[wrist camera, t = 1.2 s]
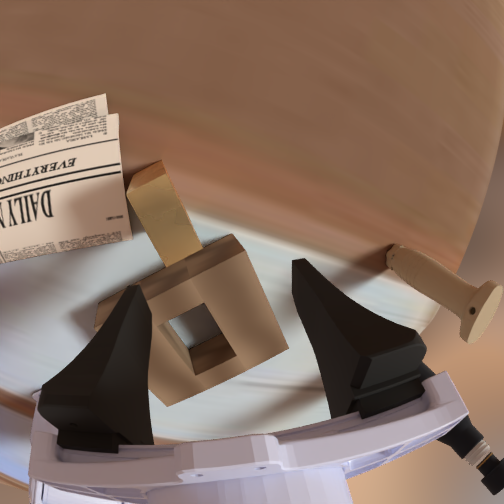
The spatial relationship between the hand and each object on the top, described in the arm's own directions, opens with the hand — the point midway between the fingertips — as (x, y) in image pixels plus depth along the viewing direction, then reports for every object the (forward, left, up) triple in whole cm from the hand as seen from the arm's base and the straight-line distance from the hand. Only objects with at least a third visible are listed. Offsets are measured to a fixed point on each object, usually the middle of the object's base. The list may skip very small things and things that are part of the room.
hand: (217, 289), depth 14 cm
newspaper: (-13, +10, -14) cm, 22 cm away
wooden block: (-1, +3, -13) cm, 13 cm away
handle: (+20, -15, -13) cm, 28 cm away
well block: (-4, -9, -13) cm, 16 cm away
